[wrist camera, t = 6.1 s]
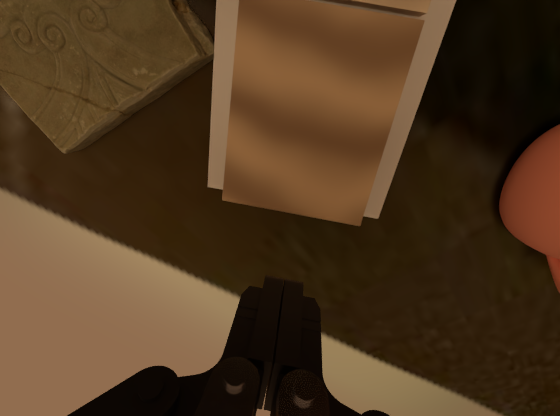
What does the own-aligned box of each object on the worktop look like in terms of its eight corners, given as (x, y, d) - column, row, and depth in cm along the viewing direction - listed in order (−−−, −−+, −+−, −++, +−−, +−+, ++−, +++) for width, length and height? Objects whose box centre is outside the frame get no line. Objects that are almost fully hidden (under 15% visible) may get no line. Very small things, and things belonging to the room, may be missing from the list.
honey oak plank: (244, -5, 20) (240, -12, 18) (416, 24, 20) (424, 20, 18) (226, 194, 26) (222, 200, 25) (357, 218, 26) (359, 226, 24)
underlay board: (230, -140, 18) (223, -157, 17) (482, -99, 18) (496, -113, 16) (212, 181, 28) (207, 186, 27) (374, 211, 28) (378, 218, 26)
